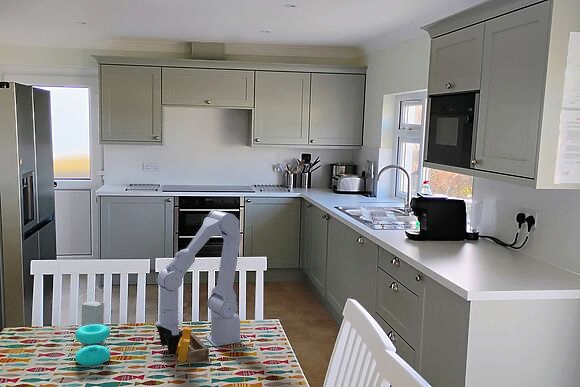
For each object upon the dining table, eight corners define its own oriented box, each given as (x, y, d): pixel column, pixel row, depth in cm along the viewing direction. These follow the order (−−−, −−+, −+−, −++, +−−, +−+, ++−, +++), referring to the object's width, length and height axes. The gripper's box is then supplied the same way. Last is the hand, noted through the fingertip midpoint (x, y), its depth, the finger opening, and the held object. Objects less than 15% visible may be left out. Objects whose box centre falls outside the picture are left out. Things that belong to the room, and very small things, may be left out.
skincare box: (80, 339, 182) (80, 304, 181) (88, 334, 186) (88, 300, 185) (96, 342, 180) (96, 306, 179) (104, 337, 185) (104, 302, 183)
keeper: (188, 338, 186) (188, 328, 185) (208, 359, 169) (208, 348, 169) (169, 341, 182) (169, 331, 182) (187, 363, 166) (188, 352, 166)
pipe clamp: (175, 345, 178) (178, 326, 178) (188, 346, 179) (191, 327, 178) (171, 360, 167) (175, 340, 166) (185, 362, 167) (189, 342, 167)
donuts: (117, 325, 168) (94, 336, 159) (117, 357, 169) (94, 369, 160) (91, 320, 172) (67, 331, 162) (91, 351, 173) (67, 363, 164)
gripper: (149, 302, 175) (149, 343, 177) (162, 316, 163) (162, 360, 164) (171, 300, 179) (171, 340, 180) (185, 313, 166) (185, 356, 168)
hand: (168, 349), depth 173 cm, fingers open, 7 cm apart
